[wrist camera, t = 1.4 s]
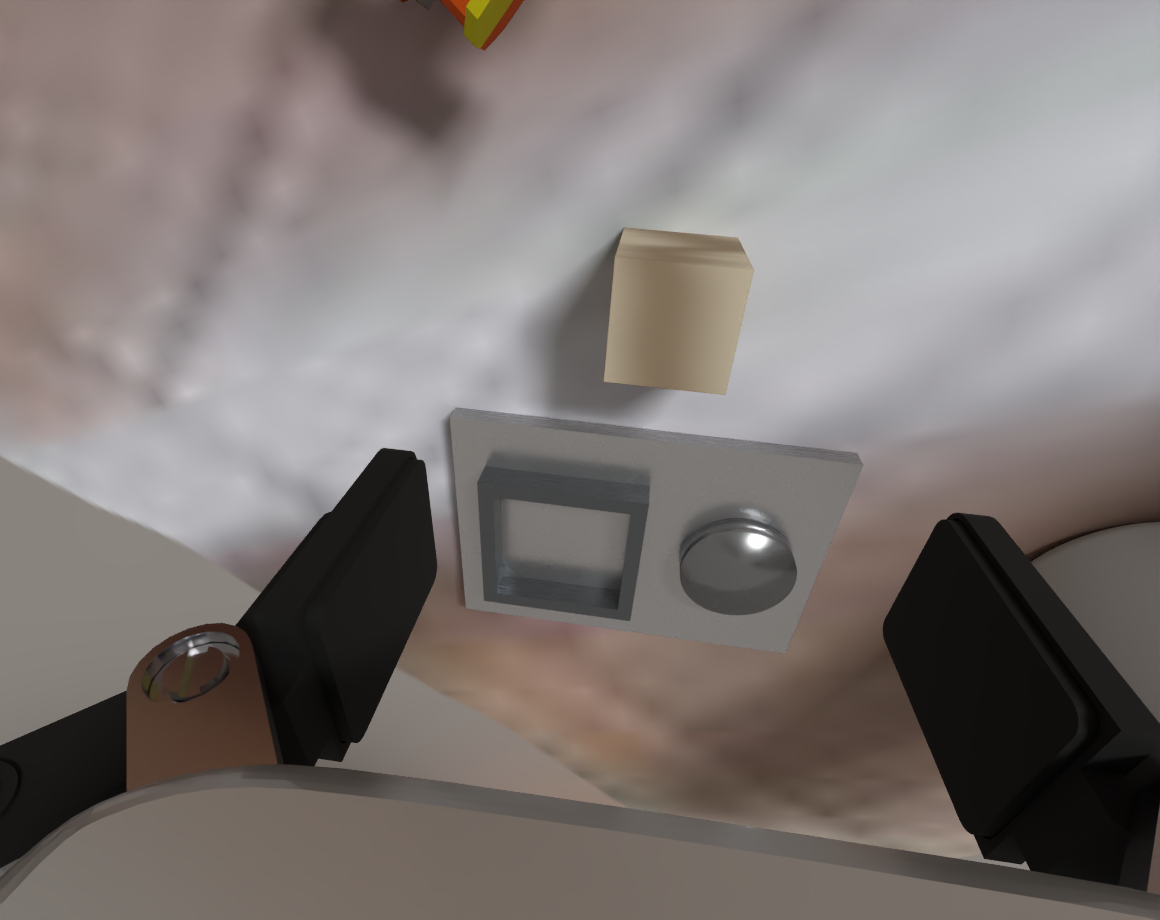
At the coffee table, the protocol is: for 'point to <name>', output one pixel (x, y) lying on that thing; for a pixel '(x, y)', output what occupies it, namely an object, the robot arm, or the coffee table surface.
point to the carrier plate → (644, 526)
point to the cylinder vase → (1115, 598)
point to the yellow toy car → (480, 17)
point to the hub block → (676, 310)
